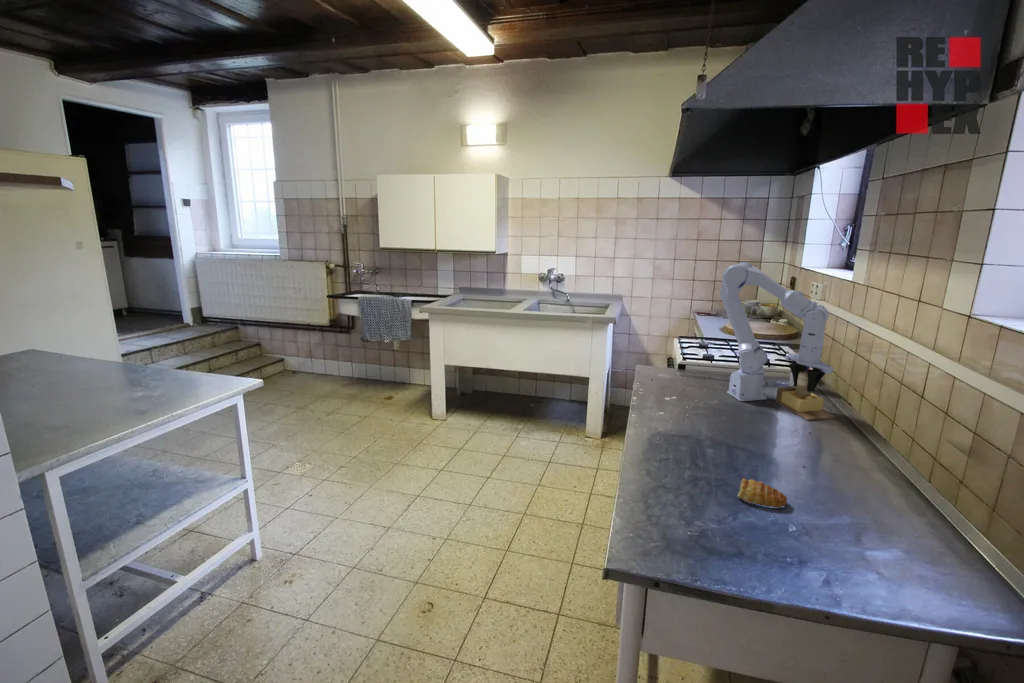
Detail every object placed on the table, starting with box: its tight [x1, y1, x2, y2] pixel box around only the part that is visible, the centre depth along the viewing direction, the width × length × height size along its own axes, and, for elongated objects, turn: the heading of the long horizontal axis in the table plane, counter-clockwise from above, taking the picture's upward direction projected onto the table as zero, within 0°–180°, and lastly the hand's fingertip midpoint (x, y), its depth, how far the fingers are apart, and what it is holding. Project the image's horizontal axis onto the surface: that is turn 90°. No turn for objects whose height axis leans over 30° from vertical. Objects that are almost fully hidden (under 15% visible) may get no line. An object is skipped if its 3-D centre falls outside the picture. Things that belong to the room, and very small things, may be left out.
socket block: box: [781, 391, 825, 412], centre depth 151 cm, size 8×8×4 cm
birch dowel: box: [796, 371, 812, 397], centre depth 150 cm, size 4×4×7 cm
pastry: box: [737, 478, 788, 507], centre depth 105 cm, size 9×7×4 cm
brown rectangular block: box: [775, 386, 836, 421], centre depth 150 cm, size 9×14×5 cm, turn 9°
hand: (804, 388), depth 150 cm, fingers closed on birch dowel, 4 cm apart
